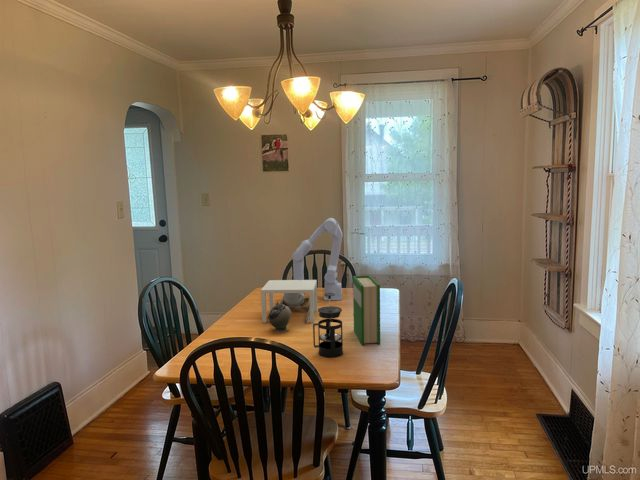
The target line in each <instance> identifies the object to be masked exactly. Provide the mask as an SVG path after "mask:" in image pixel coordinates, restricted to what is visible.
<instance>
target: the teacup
mask: <svg viewBox="0 0 640 480" xmlns="http://www.w3.org/2000/svg"><path fill="white" fill-rule="evenodd" d="M283 296H284V301H285V304H286V306H301V305H302V304H303V302H304V298H306V297H305V293H283Z"/></svg>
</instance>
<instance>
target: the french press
mask: <svg viewBox="0 0 640 480" xmlns="http://www.w3.org/2000/svg"><path fill="white" fill-rule="evenodd" d="M334 295H335V294H334V293H325V292H324V294H323V296H328V299H329V300H328V301H329V302H328V305H329V306H322V307H319V308H317V312H318V316H319V317H320V318H323V319H321V320H318V322H317V323H316V322H314V323H312V333H313V334H312V335H313V336H312V338H313V340H312V343H313V347H314V349H315V348H318V351H317V352H318V355H319V356H320V357H322V358H326V359H327V358H328V359H333V358H338V357H342V356H343V355H344V349H343V345H344V344H343V343H344V342H343V321H342V320H340V319H338V318H340V316H341V313H342V311H343V309H342V308H341V307H339V306H335V305H334V306H331V300H330V299H331V296H334ZM324 323H325V325H322V324H324ZM331 323H337V325H332V324H331ZM316 326H317V327H318V329H317V335H318V344H316V331H315V327H316ZM320 329H323V330H325V333H322V334H320ZM338 329H340V334H339V333H337V332H336V330H338Z"/></svg>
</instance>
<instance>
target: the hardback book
mask: <svg viewBox="0 0 640 480" xmlns="http://www.w3.org/2000/svg"><path fill="white" fill-rule="evenodd" d="M352 283H353V284H352V288H353V289H352V291H353V292H352V297H353V298H352V300H353V302H352V303H353V332H354V334H355V335H356V338H357V339H358V341H359V343H360V344H361V346H363V347H364V346H365V344H372V343H377V345H379V346H380V345H381V284H380V283H379V282H377V280H376V279H374V278H373V276H371V275H370V274H369V275H353V276H352Z"/></svg>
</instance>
